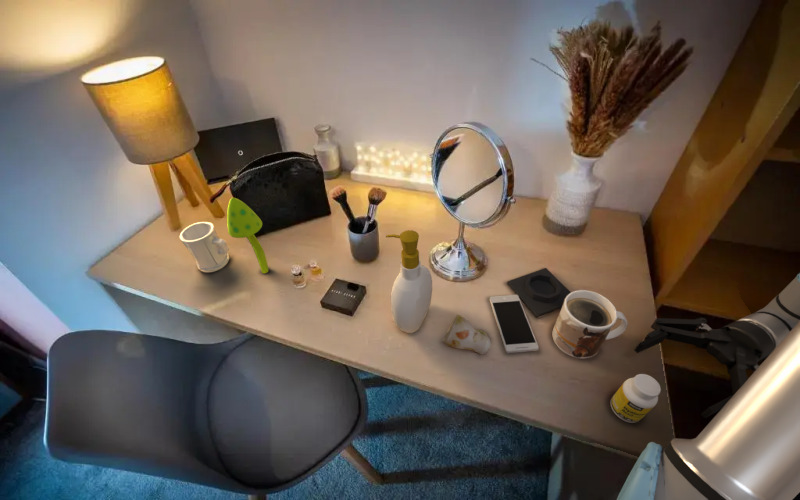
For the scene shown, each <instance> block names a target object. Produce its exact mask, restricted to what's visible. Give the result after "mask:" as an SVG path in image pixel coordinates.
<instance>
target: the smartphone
mask: <svg viewBox="0 0 800 500" xmlns="http://www.w3.org/2000/svg"><path fill="white" fill-rule="evenodd" d="M489 303H490V306H491V310H492V313H493V315H494V319H495V323H496V326H497V328H498V332H499V334H500V338H501V342H502V344H503V345H502V346H503V347H504V352H505V353H507V354H513V353H514V354H515V353H525V352H526V353H527V352H538V351H539V349H540V348H539V347H540V346H539V343H538V341H537V339H536V337H535V334H534V331H533V328H532V327H531V324H530V321H529V319H528V316H527V314H526V311H525V309H524V306H523V304H522V301H521V300H520V298H519V296H518V295H516V294H507V295H496V296H495V295H493V296H490V297H489Z"/></svg>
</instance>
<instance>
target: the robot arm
mask: <svg viewBox="0 0 800 500" xmlns="http://www.w3.org/2000/svg"><path fill="white" fill-rule="evenodd" d="M707 323H708V319H706V318H705V317H698V318H694V319H690V318H666V317H665V318H663V317H662V318H661V317H659V318H658V317H656V318H655V320H654V321H653V322H652V324H651V325H650V328H651V329H652V331H649V332H648V333H647V334H646V336H645V337H644V340H642V341H640V342H639V343H638V344H637V345H636V347H635V348H634V351H635V353H636V354H639V353H641V352H644V351H645V350H648V349H650V348H652V347H655V346H657V345H659V344H661V343H663V342H664V340H668V341H673V342H677V343H683V344H687V345H691V346H692V345H693V346H695V347H696V348H698V349H703V350H706V353H708V354H709V355H710V356H712V357H714V358H715V359H716V361H718V362H719V363H720V364H721V365H725V366H726V370H727V374H728V375H729V378H730V386H731V393H732V394H731V395H730V396H728V397H726V398H724V399H722V400H720V401H718V402H716V403H714V404H713V405H711V406H708V407H707V408H706V409H705V410H704V411H702V412H700V416H701V417H702V418H703V419H706V418H708V417H711V416H712V415H714V414H716V415H714V417H713V418H712V419H711V420H710V421H709V423H707V425H706V426H705V427H704V428H703V429H702V431H701V432H699V434H698V435H697V436H696V437H695V438H676V437H675V438H672V439H671V440H670V442H669V443H668V444H667V445H666V446H665V447H664V448H663V446H662V445H661V444H660V443H656V442H654V441H650V442H648V443H647V444H646V447H645V448H644V449H643V450H642V452H641V453H640V455H639V457H638V458H637V460H636V461H635V463H634V465H633V467H632V469H631V471H630V472H629V474H628V476H627V477H626V480H625V482H624V483H623V485H622V488H621V489H620V491H619V493H618V496H617V498H616V500H794V499H795V498H796V497H797V495H799V494H800V272H799V273H797V275H796V276H795V277H794V279H793V280H791V281H790V283H788V285H786V287H784V288H783V290H781V291H780V293H778V294H777V295H776V296H775V297H774V298H773V299H772V300H771V301H770V302H768V304H766V305H765V306H764V307H763V308H760V309H758V310H757V311H755V312H752V313H750V314H748V315H746V316H744V317H741V318H739V319H737V320H735V321H732V322H730V323H728V324H726V325H724V326H722V327H721V328H720V327H719V328H712V327H710V325H708V324H707ZM762 360H764V361H762ZM761 361H762V363H761V364H760V365H759V364H758V363H759V362H761ZM747 370H751V371H752V372H753V373H752V374H751V375H750V376H749V377H748V375H747Z"/></svg>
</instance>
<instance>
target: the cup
mask: <svg viewBox="0 0 800 500" xmlns="http://www.w3.org/2000/svg"><path fill="white" fill-rule="evenodd" d="M178 236H179V240H180V241H181V243H182V244H183V246H185V248H186V249H187V250H188V252H189V253H190V255H191V256H192V258H193V259H194V260H195V262H196V267H197V268H198V270H199V271H200V272H202V273H214V272H217V271H219V270H222V269H223V268H224V267H225V266H226V265H227V264H228V262H229V261H230V256H229V250H230V249H229V245H228V243H227V241H226V240H225V239H223V238H219V235H218V233H217V231H216V228H215V226H214V224H213V223H212V222H210V221H209V222H208V221H199V222H195V223H192V224H190V225H188V226H186V227H185V228H184V229H183V230H182V231H181V232H180V233H179V235H178Z"/></svg>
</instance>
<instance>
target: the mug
mask: <svg viewBox="0 0 800 500" xmlns="http://www.w3.org/2000/svg"><path fill="white" fill-rule="evenodd" d="M559 310H560V311H559V313H558V316H557V318H556V320H555V323H554V326H553V328H552V332H551V335H552V339H553V342H554V344H555V346H557V348H558V349H559V350H560V351H561V352H563V353H564V354H566V355H568V356H570V357H573V358H576V359H589V358H593V357H594V356H596V355H597V354H598V352H599V351H600V350H601V347H602V346H603V344H604V343H605V341H606V340H612V339H615V338H616V337H619V336H621V335H622V334H623V333H624V332H626V330H627V329H628V325H629V322H628V319H627V317H626V315H625V314H624V312H622V311H619V310H617V309H616V307H615V305H614V304H613V302H611V300H609V299H608V298H607V297H606V296H604V295H602V294H600V293H598V292H596V291H593V290H585V289H578V290H573V291H572V292H571V293H570V294H569V295H567V297H566V298H565V300H564V303H563V305H562V308H561V309H559ZM618 319H619V320H621V323H620V324H619V325H618V326H617V327H615V328H613V327H614V325H615V324H616V322H617V321H618Z"/></svg>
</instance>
